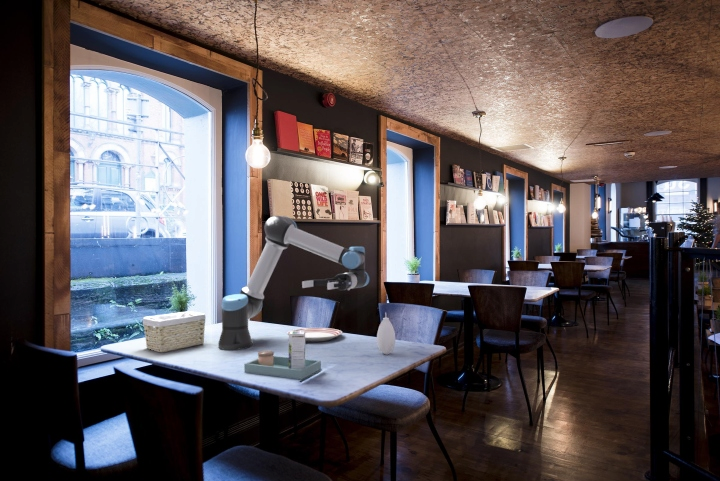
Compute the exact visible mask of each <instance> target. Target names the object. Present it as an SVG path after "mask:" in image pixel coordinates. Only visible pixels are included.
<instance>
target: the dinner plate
mask: <svg viewBox="0 0 720 481" xmlns="http://www.w3.org/2000/svg"><path fill="white" fill-rule="evenodd" d="M290 331H305V342H312V343H313V342H326V341H329V340H332V339H334V338H336V337H339V336H340V335H342V334H343V331H342V330H341V329H340V330H339V329H335V328H330V327H329V328H328V327H304V328H303V327H302V328H297V329H296V328H295V329H291V330H289V331H287V332H286V335H287V336H289V334H290Z"/></svg>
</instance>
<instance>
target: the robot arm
mask: <svg viewBox="0 0 720 481" xmlns="http://www.w3.org/2000/svg"><path fill="white" fill-rule="evenodd" d="M264 232H265V242H266V243H265V245H264V248H263V250H262V252H261V254H260V256H259V258H258V260H257V263H256V265H255V267H254V269H253V271H252V274H251V275H250V278H249V280H248V282H247V284H246V286H244V287H242V288H241V290H240V291H239V293H235V294H230V295H225V296H224V297H223V298H222V299H221V300H222V301H221V327H222V328H221V333H220V337H219V341H218V345H217V347H218V348H219V349H221V350H228V351H229V350H230V351H233V350H235V351H237V350H243V349H248V348H250V347H252V346H253V340H252V337H251V333H250V330H249V320H250V319H253V318H255V317H256V316H257V315H258V314H260V313H261V311H262V308H263V301H264V299H265V295H264V291H265V289H266V287H267V285H268V283H269V281H270V278H271V276H272V274H273V272H274V270H275V268H276V266H277V263H278V261H279V260H280V257H281V255H282V253H283V250H286V249H288V247H289V245H290V244H291V245H293V246H295V247H298V248H300V249H303V250H305V251H308V252H311V253H312V254H315V255H318V256H320V257H322V258H324V259H327V260H329V261H332V262H335V263H337V264H339V265H341V266H344V267H345V268H346V269H348V271H349V272H344V273H338V274H336V275H335V276H334V277H332V278H325V279H323V278H322V279H308V280H304V281H301V285H302V287H301V288H302V289H305V288H311V289H312V288H313V287H323V286H326V287H327V288H326V290H327V291H328V290H329V291H330V290H335V289H337V290H338V291H346V290H347V291H350V290H351V289H352V290H353V289H360V288H363V287H366V286H367V285H369V283H370V276H369V273H367V272H366V250H365V247H364V246H350V247H348V248H346V247H343V246H341V245H339V244H337V243H334V242H331V241H329V240H326V239H324V238H321V237H319V236H317V235H314V234H311V233H308V232H307V231H304V230H302V229H299V228H298V226H297V223H296V221H294V219H292V218H290V217H287V216H285V215H284V216H280V215H273V216H271V217H269V218H268V219H267V220H266V221H265V223H264Z"/></svg>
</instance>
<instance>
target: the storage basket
mask: <svg viewBox="0 0 720 481" xmlns="http://www.w3.org/2000/svg"><path fill="white" fill-rule="evenodd" d="M205 324H206V313H202V312H197V311H191V310H186V311H180V312H172V313H166V314H158V315H157V314H156V315H151V316H150V315H148V316H144V317H142V325H143V328H144V329H143V330H144V336H145V342H146V343H145V344H146V345H145V346H146V349H148V350H150V349H151V350H152V351H153V350H154V352H157V353H166V352H170V351H177V350H180V349H185V348H190V347H194V346H198V345H203V344H204V343H205V326H206V325H205Z"/></svg>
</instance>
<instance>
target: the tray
mask: <svg viewBox="0 0 720 481" xmlns="http://www.w3.org/2000/svg"><path fill="white" fill-rule="evenodd" d="M273 364H274V367H273V366H264V365H259V362H258V358H256V359H253V360H250V361H249V362H248V361H247V362H246V363H244V367H243V368H244V369H243V370H244V373H247V374H256V375H264V376H272V377H280V378H288V379H293V380H298V382H299V383H302V382H305V381H306V380H308V379H310V378H312V377H314V376H316V375H317V374H319V373H321V372H322V360H319V359H316V360H314V359H307V358H305V368H303V369H301V370H298V369H289V356H278V355H273Z"/></svg>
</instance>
